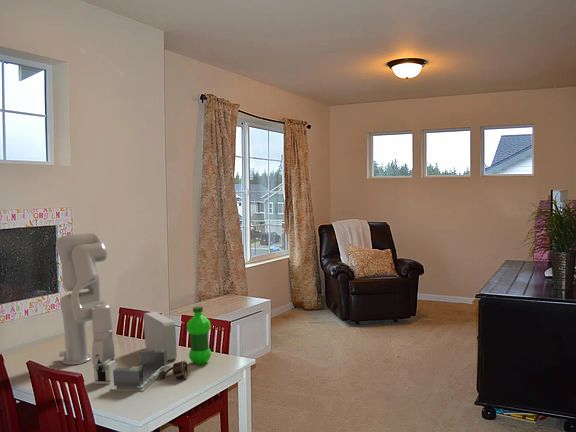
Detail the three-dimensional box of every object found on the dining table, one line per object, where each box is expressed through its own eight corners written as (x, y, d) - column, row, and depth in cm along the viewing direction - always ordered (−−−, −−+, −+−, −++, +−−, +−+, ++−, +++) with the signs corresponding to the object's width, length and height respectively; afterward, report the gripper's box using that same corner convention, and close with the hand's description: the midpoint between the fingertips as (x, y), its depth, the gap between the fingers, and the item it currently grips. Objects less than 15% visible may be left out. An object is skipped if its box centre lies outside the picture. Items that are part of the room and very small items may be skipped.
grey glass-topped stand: (110, 390, 209) (108, 368, 208) (141, 366, 235) (140, 347, 234) (143, 391, 206) (142, 369, 205) (171, 367, 232) (170, 348, 232)
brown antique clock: (178, 371, 211) (193, 358, 220) (153, 365, 217) (169, 352, 225) (180, 387, 213) (195, 373, 222) (155, 380, 219) (171, 367, 228)
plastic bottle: (195, 358, 244) (192, 304, 242) (216, 359, 240) (213, 305, 239) (184, 365, 234) (181, 309, 233) (205, 367, 231) (202, 310, 229)
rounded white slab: (182, 359, 243) (179, 320, 242) (166, 362, 239) (163, 323, 238) (160, 345, 267) (158, 309, 266) (145, 348, 263) (143, 312, 262)
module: (94, 383, 217) (93, 364, 216) (101, 379, 222) (100, 360, 221) (110, 384, 216) (109, 364, 215) (116, 379, 220) (115, 360, 220)
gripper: (105, 329, 227) (107, 370, 228) (82, 340, 210) (85, 385, 211) (121, 329, 225) (124, 371, 226) (100, 341, 208) (103, 386, 210)
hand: (105, 377), depth 219 cm, fingers closed on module, 5 cm apart
